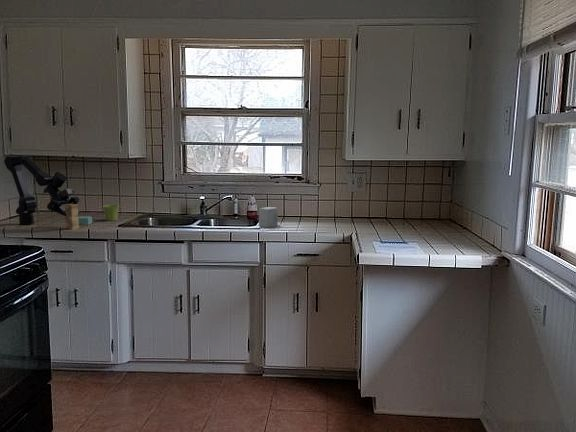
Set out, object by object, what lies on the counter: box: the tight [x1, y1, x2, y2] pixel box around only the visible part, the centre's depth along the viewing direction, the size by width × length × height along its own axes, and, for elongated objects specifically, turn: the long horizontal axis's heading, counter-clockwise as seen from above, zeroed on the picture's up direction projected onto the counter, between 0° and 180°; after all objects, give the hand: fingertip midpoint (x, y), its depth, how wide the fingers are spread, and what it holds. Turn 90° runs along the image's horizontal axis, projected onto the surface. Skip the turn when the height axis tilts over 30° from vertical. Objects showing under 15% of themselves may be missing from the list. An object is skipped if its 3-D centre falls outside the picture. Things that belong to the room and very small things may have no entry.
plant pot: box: [102, 204, 120, 222], centre depth 316 cm, size 9×9×9 cm
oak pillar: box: [64, 203, 80, 230], centre depth 286 cm, size 4×4×13 cm
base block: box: [78, 215, 93, 226], centre depth 302 cm, size 7×7×4 cm
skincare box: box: [258, 206, 279, 228], centre depth 301 cm, size 10×6×10 cm, turn 149°
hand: (72, 214), depth 285 cm, fingers open, 9 cm apart
